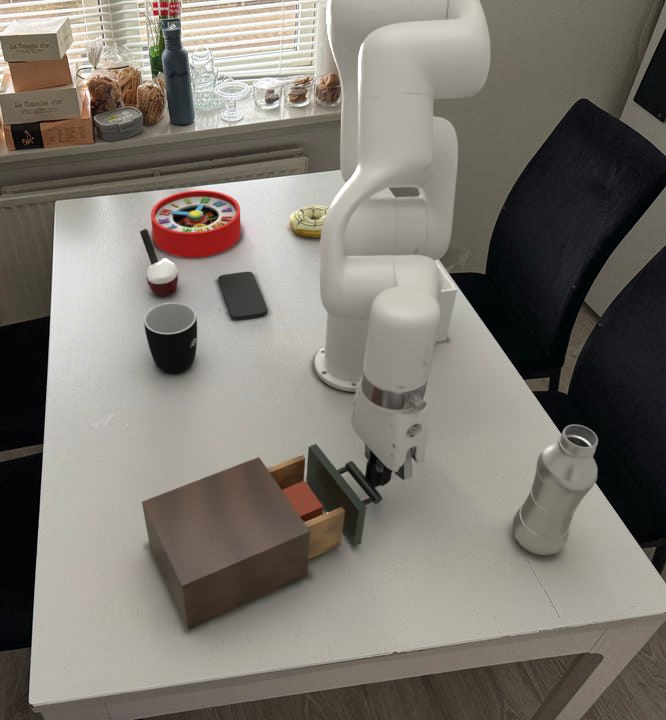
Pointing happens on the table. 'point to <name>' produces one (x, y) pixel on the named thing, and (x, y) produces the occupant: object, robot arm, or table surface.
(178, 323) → the mug
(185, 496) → the cabinet
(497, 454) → the table surface
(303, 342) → the table surface
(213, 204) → the toy clock
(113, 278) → the table surface
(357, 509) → the wooden drawer
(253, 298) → the phone
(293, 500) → the block
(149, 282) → the cocoa
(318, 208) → the decorated donut
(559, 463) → the silver metal bottle
